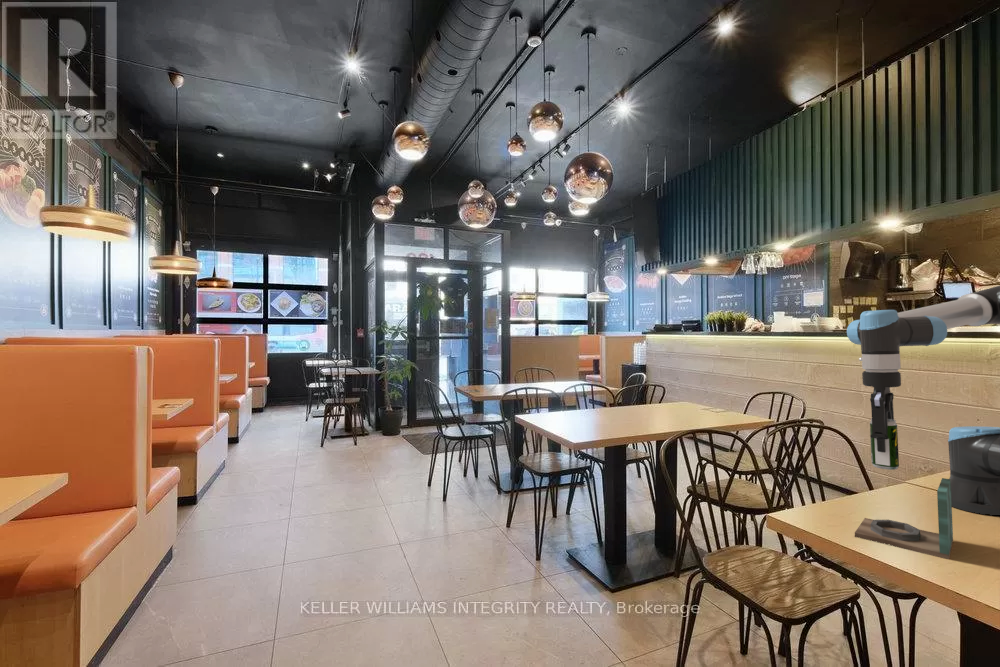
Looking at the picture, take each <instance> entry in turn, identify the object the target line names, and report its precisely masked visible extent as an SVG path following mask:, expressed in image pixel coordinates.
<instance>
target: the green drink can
mask: <svg viewBox="0 0 1000 667" xmlns="http://www.w3.org/2000/svg"><path fill="white" fill-rule="evenodd" d="M879 433H881V432H879ZM870 435H872V417H871V418H870V421H869V436H870ZM887 436H888V438H887V439H889V452H890V466H887V465H880V464H876V462H875V441H874V438H871V437H869V438H870V453H871V454H870V456H871V458H870V459H871V464H872V466H873V467H874V468H877V469H882V470H889V471H891V470H893V471H894V470H898V469H899V466H900V459H899V458H900V457H899V455H900V454H899V440H898V439H899V436H898V424H897V420H896V419H894V420H893V419H888V433H887Z"/></svg>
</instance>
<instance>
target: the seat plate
mask: <svg viewBox="0 0 1000 667" xmlns="http://www.w3.org/2000/svg"><path fill="white" fill-rule="evenodd" d="M936 492H937V493H936V495H937V496H936V497H937V519H938V533H937V532H932V531H927V530H924V529H919V528H917V527H915V526H912V524H909V523H906V522H901V521H897V520H891V519H872V518H867V517H864V519H863V520H862V521H861V523H860V525H858V527H857V528H856V530H855V531H854V537H855V538H859V537H860V538H859V539H864V540H868V541H871V540H872V541H873V542H875V541H877V542H876V543H879V542H880V543H881V544H884V543H885V544H884V545H888V544H890V545H889V546H892V545H893V546H892V547H896V546H897V548H901V549H904V550H910V551H913V552H917V553H921V554H926V555H930V556H933V557H938V558H941V559H942V558H943V559H946V560H949V559H950V557H951V552H952V547H953V543H954V530H953V528H954V527H953V507H952V501H951V479H949V478H944V477H942V478H941V480H940V482H939V484H938V488H937V490H936ZM872 541H871V542H872Z"/></svg>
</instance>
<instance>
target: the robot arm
mask: <svg viewBox="0 0 1000 667" xmlns="http://www.w3.org/2000/svg"><path fill="white" fill-rule="evenodd" d="M859 316H860V317H859V319H855V320H853V321H851V322H850V323H849V324H848V326H847V329H846V335H847V339H848V340H849V342H851V343H853V345H854V344H855V345H858V346H860V349H861V351H860V352H861V357H859V358H858V361H860V362H861V369H863V370H864V371H862V375H861V377H862V378H861V380H862V385H863V386H865V387H872V388H873V393H870V398H869V400H870V406H871V408H870V409H871V418H872V435H870V434H869V436H870V437H871V438H874V441H875V462H876V464H880V465H887V466H890V452H889V439H887V438H888V436H887V433H888V419H893V420H895V415H894V414H895V412H894V399H895V398H894V392H891V388H899V387H901V386H902V377H901V376H902V373H901V372H900V370H901V368H902V367H901V366H902V365H901V352H900V348H901V347H928V346H934V345H935V346H936V345H939V344H940V343H942V342H943V341H945V339H946V338H947V336H948V330H949V329H954V328H957V327H963V326H971V327H979V326H984V325H1000V285H997V286H991V287H989V288H986V289H981V290H978V291H975V292H970V293H965V294H963V295H961V296H959V297H958V298H957V299H955V300H954V299H953V300H950V301H947V302H942V303H935V304H933V305H932V304H931V305H928V306H923V307H918V308H914V309H909V310H904V311H900V312H898V311H897V310H896V309H881V310H880V309H874V310H866V311H865V310H864V311H862V312H861V314H860V315H859ZM898 370H899V371H898ZM879 432H881V433H879ZM870 437H869V438H870ZM947 442H948V443H947V444H948V455H949V456H948V458H949V460H948V461H949V473H950V475H949V478H948V479H951V501H952V508H955V509H958V510H962V511H965V512H969V513H974V512H975V514H979V513H980V514H979V515H985V514H990V515H989V516H992V515H1000V427H999V426H979V425H978V426H974V425H973V426H954V427H951V428H950V430H949V432H948V440H947Z"/></svg>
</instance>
